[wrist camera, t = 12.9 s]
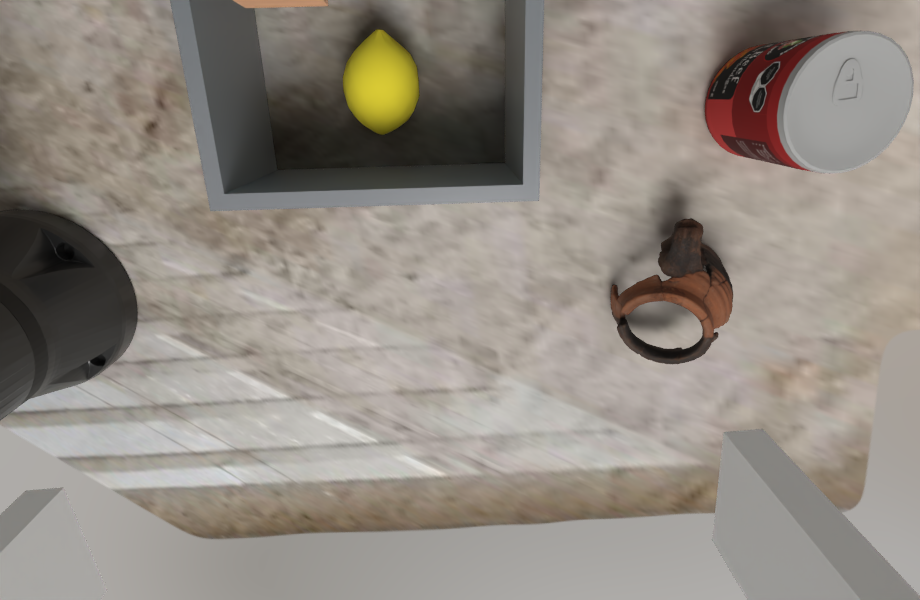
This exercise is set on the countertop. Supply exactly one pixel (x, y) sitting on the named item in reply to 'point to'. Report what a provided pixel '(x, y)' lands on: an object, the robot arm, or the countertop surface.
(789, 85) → the canned food
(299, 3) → the lid
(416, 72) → the lemon
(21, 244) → the robot arm
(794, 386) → the countertop surface
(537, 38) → the tub
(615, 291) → the broken clay pot
